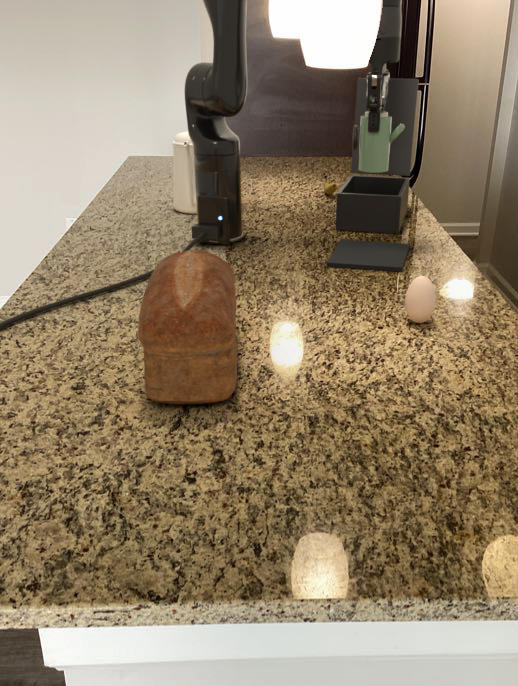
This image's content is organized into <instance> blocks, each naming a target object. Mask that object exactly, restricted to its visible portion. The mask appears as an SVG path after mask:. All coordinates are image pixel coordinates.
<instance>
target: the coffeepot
mask: <svg viewBox="0 0 518 686" xmlns="http://www.w3.org/2000/svg"><path fill="white" fill-rule="evenodd" d="M187 128H188V125H187ZM172 146H173V149H172V150H173V151H172V152H173V155H172V156H173V157H172V158H173V162H172V163H173V165H172V166H173V167H172V168H173V171H172V172H173V173H172V174H173V175H172V176H173V177H172V178H173V179H172V180H173V181H172V182H173V183H172V190H173V191H172V205H173V208H174V210H175V211H177V212H179V213H181V214H182V213H183V214H189V215H190V214H191V215H197V207H196V188H195V170H194V151H193V144H192V141H191V139H190V137H189V133H188V131H181V132H178V133H177V134H176V135H175V136H174V138H173V140H172Z"/></svg>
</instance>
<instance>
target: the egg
mask: <svg viewBox="0 0 518 686" xmlns="http://www.w3.org/2000/svg"><path fill="white" fill-rule="evenodd" d="M436 304H437V293H436V289H435V285H434V284H433V282H432V280H431V279H430V278H428V277H427V276H425V275H419V276H416V277H415V278H414V279H413V280H412V281H411V283H410V284H409V285H408V288H407V289H406V293H405V298H404V308H405V311H406V314H407V316H408V318H409V319H410V320H411V321H412V322H413V323H416V324H422V323H425V322H427V321H428V320H429V319H430V318H431V317H432V315H433V314H434V311H435V309H436Z"/></svg>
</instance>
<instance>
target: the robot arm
mask: <svg viewBox="0 0 518 686" xmlns="http://www.w3.org/2000/svg"><path fill="white" fill-rule="evenodd" d="M202 2H203V5H204V8H205V11H206V13H207V16H208V18H209V21H210V25H211V29H212V39H213V54H212V55H213V57H212V62H197V63H196V64H194V65H193V66H191V68H189V71H187V73H186V77H185V82H184V105H185V115H186V116H185V117H186V125H187V126H188V127H187V132H188V133H189V137H190V139H191V141H192V144H193V151H194V170H195V188H196V207H197V214H196V223H193V225H191V227H190V228H191V239H193V240H191V242H189V243H188V245H187V246H186V247H184V249H183V250H182V251H181V252H184V251H187V250H192V248H193V247H194V246H195V245H196V244H197V243H199V244H211V245H225V246H227V245H228V246H229V245H231V244H234V243H237V242H241V240H243V239H244V232H243V208H242V207H243V204H242V171H241V170H242V169H241V167H242V166H241V165H242V164H241V140H240V137H239V136H238V135H237V134H236V133H235V132H234V131H232V130H231V129H230V127H229V125H228V124H227V121H226V118H233V117H236V116H237V115H238V114H239V113H241V111H242V110H243V108H244V106H245V104H246V101H247V95H248V60H247V57H248V56H247V14H248V13H247V10H248V9H247V8H248V7H247V6H248V0H202ZM402 3H403V0H383V8H382V15H381V21H380V27H379V31H378V35H377V39H376V43H375V46H374V49H373V52H372V55H371V57H370V60H369V64H370V65H371V67H370V71H369V72H368V73H366V78H367V94H366V95H367V104H366V107H367V109H368V111H369V114H368V132H370V133H378V132H379V130H380V114H381V111H384V107H385V105H386V100H387V98H386V97H387V94H388V83H389V79H391V77H390V75H391V74H390V72H389V69H387V64H394V63H395V64H396V63H398V62H399V61H400V58H401V57H400V55H401V39H402V24H403V23H402V22H403V21H402V19H403V16H402V15H403V14H402V5H403V4H402ZM153 271H154V269H151V270H150V271H147V272H145V273H142V274H140V275H137V276H134V277H131V278H128V279H126V280H123V281H119V282H117V283H113V284H109V285H106V286H104V287H100V288H97V289H94V290H90V291H87V292H83V293H80V294H76V295H73V296H69V297H66V298H63V299H61V300H58V301H54V302H51V303H48V304H45V305H41V306H39V307H36V308H33V309H31V310H28V311H25V312H23V313H20V314H18V315H15V316H13V317H11V318H10V317H9V318H8V319H5V320H4V321H1V322H0V330H2V329H4V328H7V327H8V326H11V325H12V324H15V323H18V322H19V321H23V320H25V319H28V318H31V317H32V316H35V315H38V314H41V313H44V312H46V311H49V310H52V309H55V308H58V307H61V306H65V305H68V304H71V303H74V302H77V301H80V300H83V299H86V298H90V297H91V298H92V297H95V296H98V295H101V294H105V293H107V292H110V291H114V290H117V289H120V288H122V287H125V286H129V285H132V284H135V283H138V282H140V281H143V280H145V279H147V278H150V277H151V274H152V273H153Z"/></svg>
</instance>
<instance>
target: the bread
mask: <svg viewBox="0 0 518 686" xmlns="http://www.w3.org/2000/svg"><path fill="white" fill-rule="evenodd" d="M153 270H154V271H153V273H152V274H151V276H150V277H148V280H147V285H146V287H145V290H144V292H143V296H142V301H141V304H140V310H139V314H138V327H137V335H138V340H139V343H140V344H141V347H142V351H143V365H144V367H143V368H144V369H143V370H144V371H143V377H144V378H143V379H144V388H145V391H146V394H147V397H148V398H149V399H150V400H151V401H152V402H155V403H160V404H169V405H200V404H210V403H218V402H222V401H226V400H228V399H230V397H231V395H233V393H234V392H235V389H236V387H237V383H238V370H237V367H238V341H237V334H236V333H237V332H236V331H237V321H236V313H237V291H236V290H237V289H236V284H235V283H236V276H235V270H234V269H233V268H232V267H231V265H230V264H229V263H228V262H227V261H226V260H224V259H223V258H221V257H220V256H219V255H217V254H214V253H212V252H210V251H208V250H202V249H190V250H187V251H184V252H182V251H181V252H173V253H171V254H170V255H168V256H166V257H165V258H163V259H162V260H161V261H160V262H158V263H157V264H156V265H155V267H154V269H153Z"/></svg>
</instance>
